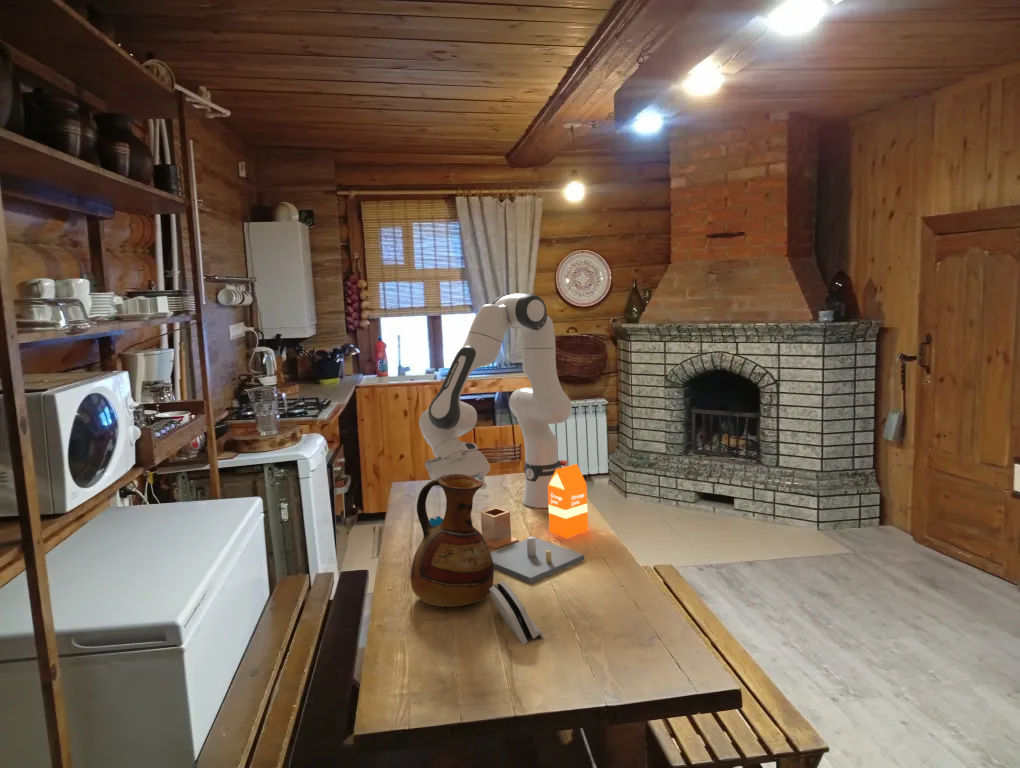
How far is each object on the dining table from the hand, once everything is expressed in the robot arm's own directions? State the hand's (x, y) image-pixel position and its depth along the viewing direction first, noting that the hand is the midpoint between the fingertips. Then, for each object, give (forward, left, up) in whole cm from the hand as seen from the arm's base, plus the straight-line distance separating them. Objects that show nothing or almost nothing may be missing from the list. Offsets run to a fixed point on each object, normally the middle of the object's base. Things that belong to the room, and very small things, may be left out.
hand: (471, 491), depth 208 cm
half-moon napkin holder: (+30, +51, -14) cm, 61 cm away
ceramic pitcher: (+31, +30, -13) cm, 45 cm away
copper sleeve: (0, +10, -13) cm, 17 cm away
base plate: (+3, +28, -13) cm, 31 cm away
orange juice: (-20, +20, -13) cm, 32 cm away
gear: (+8, -6, -14) cm, 17 cm away
